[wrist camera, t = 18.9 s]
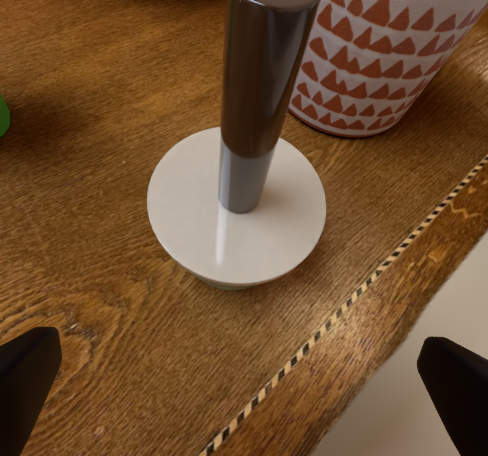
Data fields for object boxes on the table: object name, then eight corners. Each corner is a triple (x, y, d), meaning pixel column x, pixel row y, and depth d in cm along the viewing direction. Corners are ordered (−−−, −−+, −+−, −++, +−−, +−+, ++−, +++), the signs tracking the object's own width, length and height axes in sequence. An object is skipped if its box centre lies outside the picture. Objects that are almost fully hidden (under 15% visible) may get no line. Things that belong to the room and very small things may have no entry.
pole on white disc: (267, 326, 15) (392, 248, 5) (109, 218, 16) (-60, -22, 6) (350, 184, 18) (513, -24, 8) (216, 108, 20) (222, -147, 10)
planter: (429, 127, 29) (575, -29, 17) (300, 152, 26) (371, -16, 15) (367, 35, 34) (448, -134, 22) (252, 47, 31) (278, -139, 20)
